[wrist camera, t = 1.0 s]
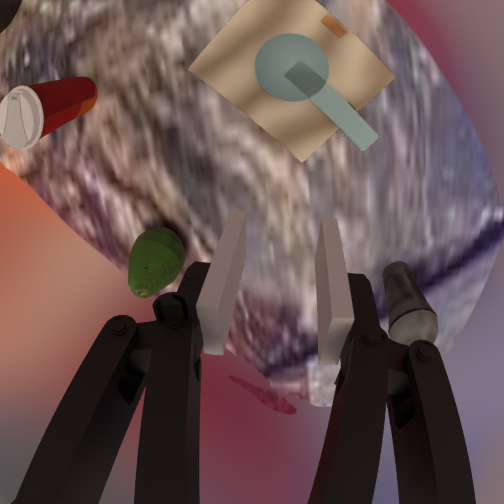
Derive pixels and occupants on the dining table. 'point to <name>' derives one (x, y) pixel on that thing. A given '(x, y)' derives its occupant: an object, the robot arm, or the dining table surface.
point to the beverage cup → (407, 307)
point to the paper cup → (43, 109)
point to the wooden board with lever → (269, 107)
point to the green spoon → (308, 82)
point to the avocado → (155, 261)
